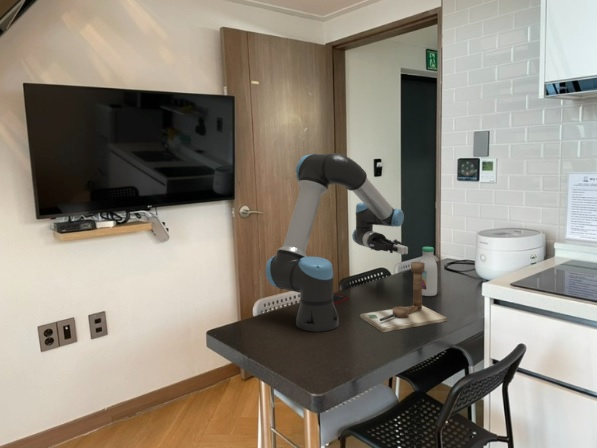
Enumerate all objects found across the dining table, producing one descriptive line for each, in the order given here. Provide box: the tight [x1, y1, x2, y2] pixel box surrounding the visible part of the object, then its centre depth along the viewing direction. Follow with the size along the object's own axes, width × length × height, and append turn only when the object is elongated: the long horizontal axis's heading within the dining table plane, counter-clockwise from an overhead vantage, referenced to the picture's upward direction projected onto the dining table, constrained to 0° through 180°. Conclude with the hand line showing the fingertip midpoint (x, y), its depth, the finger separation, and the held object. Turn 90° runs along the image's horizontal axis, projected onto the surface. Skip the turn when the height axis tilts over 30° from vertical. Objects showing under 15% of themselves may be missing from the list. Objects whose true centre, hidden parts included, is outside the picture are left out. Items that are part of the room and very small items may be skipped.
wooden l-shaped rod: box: [380, 261, 425, 321], centre depth 164 cm, size 23×6×17 cm, turn 130°
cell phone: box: [333, 293, 350, 306], centre depth 188 cm, size 8×15×1 cm, turn 137°
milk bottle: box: [419, 246, 438, 297], centre depth 193 cm, size 8×8×20 cm
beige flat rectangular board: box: [359, 305, 448, 333], centre depth 165 cm, size 26×16×2 cm, turn 110°
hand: (405, 250), depth 177 cm, fingers closed
